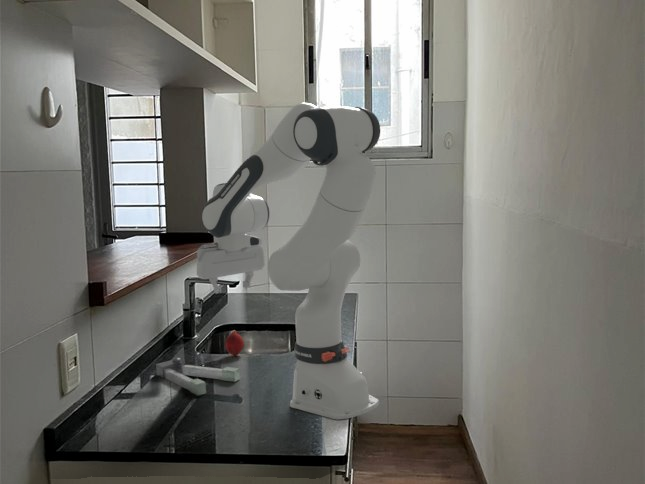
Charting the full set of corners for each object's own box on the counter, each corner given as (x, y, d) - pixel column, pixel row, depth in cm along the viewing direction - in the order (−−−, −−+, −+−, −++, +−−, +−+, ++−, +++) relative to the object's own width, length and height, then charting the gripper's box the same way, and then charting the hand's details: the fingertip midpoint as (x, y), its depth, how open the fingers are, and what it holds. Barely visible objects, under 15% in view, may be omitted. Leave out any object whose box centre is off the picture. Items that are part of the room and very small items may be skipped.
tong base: (218, 389, 169) (218, 377, 169) (197, 395, 165) (196, 383, 165) (176, 369, 187) (175, 359, 187) (156, 374, 183) (156, 364, 183)
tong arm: (171, 373, 183) (170, 359, 183) (176, 371, 185) (175, 357, 185) (235, 381, 174) (234, 366, 174) (239, 378, 176) (238, 364, 176)
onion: (241, 358, 195) (239, 333, 194) (223, 358, 196) (221, 332, 195) (247, 353, 200) (245, 328, 199) (229, 352, 202) (227, 327, 201)
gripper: (202, 246, 170) (205, 298, 172) (266, 238, 182) (268, 286, 185) (190, 244, 174) (193, 294, 176) (254, 236, 187) (256, 282, 189)
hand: (232, 290), depth 181 cm, fingers open, 8 cm apart
